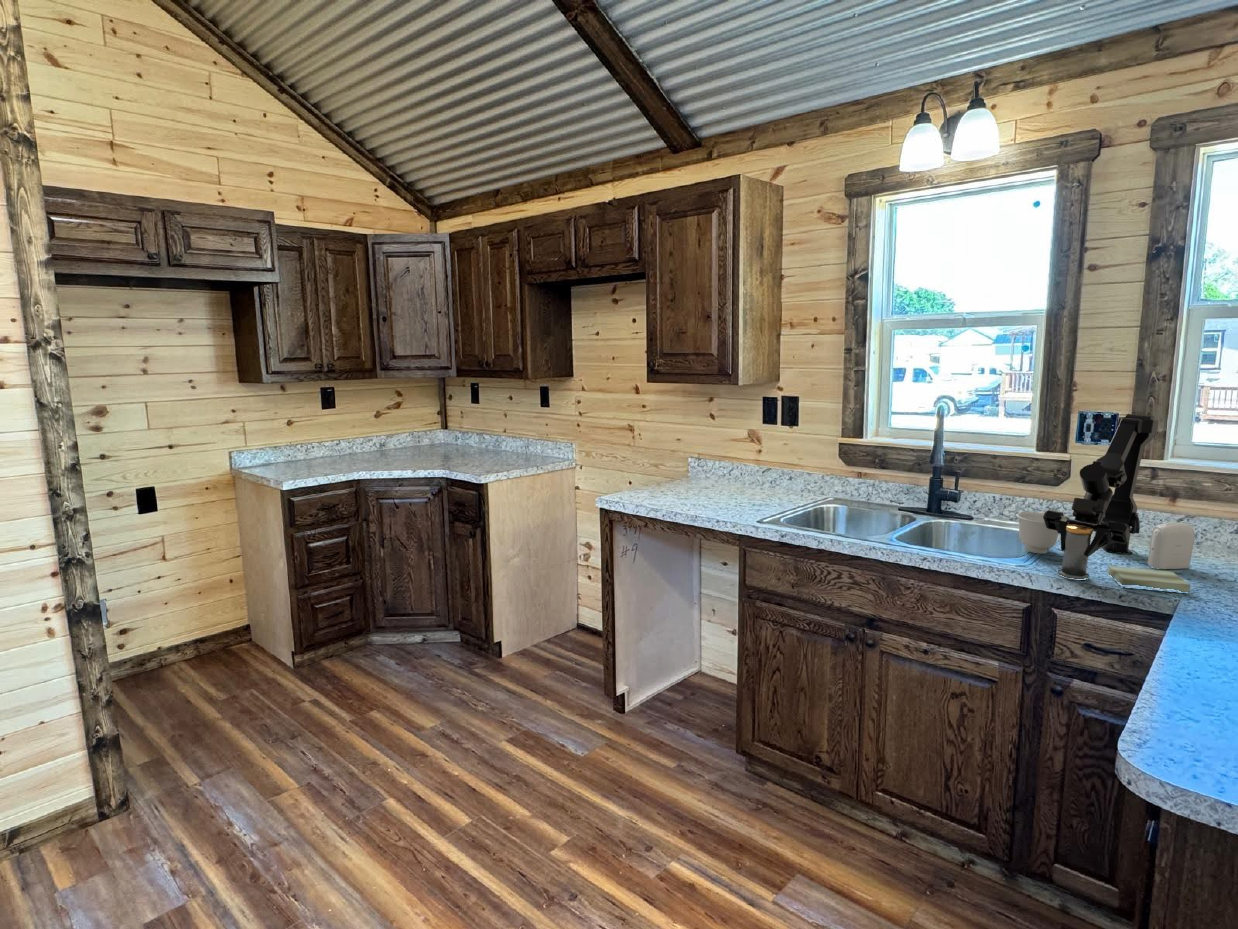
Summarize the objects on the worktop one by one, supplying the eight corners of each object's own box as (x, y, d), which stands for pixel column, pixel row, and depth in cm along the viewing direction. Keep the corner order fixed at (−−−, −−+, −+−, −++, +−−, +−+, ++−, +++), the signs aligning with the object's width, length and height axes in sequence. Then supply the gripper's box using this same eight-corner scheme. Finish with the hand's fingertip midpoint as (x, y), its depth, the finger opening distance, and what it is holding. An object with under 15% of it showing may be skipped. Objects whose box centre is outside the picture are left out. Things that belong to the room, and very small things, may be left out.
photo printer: (1156, 570, 192) (1163, 525, 190) (1143, 565, 196) (1150, 521, 194) (1192, 569, 193) (1199, 525, 191) (1178, 564, 197) (1185, 520, 195)
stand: (1107, 575, 188) (1108, 565, 188) (1170, 580, 184) (1171, 571, 184) (1121, 588, 179) (1123, 578, 178) (1188, 594, 175) (1189, 584, 174)
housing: (1054, 570, 191) (1060, 522, 188) (1083, 573, 189) (1090, 525, 187) (1062, 579, 184) (1068, 529, 182) (1092, 582, 183) (1099, 532, 180)
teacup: (1060, 546, 213) (1064, 513, 211) (1060, 559, 200) (1065, 524, 198) (1013, 539, 219) (1017, 507, 217) (1011, 552, 206) (1015, 518, 204)
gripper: (1050, 480, 192) (1028, 527, 187) (1133, 492, 178) (1112, 544, 173) (1057, 504, 198) (1037, 550, 193) (1138, 518, 184) (1118, 568, 180)
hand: (1074, 553), depth 185 cm, fingers closed on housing, 5 cm apart
